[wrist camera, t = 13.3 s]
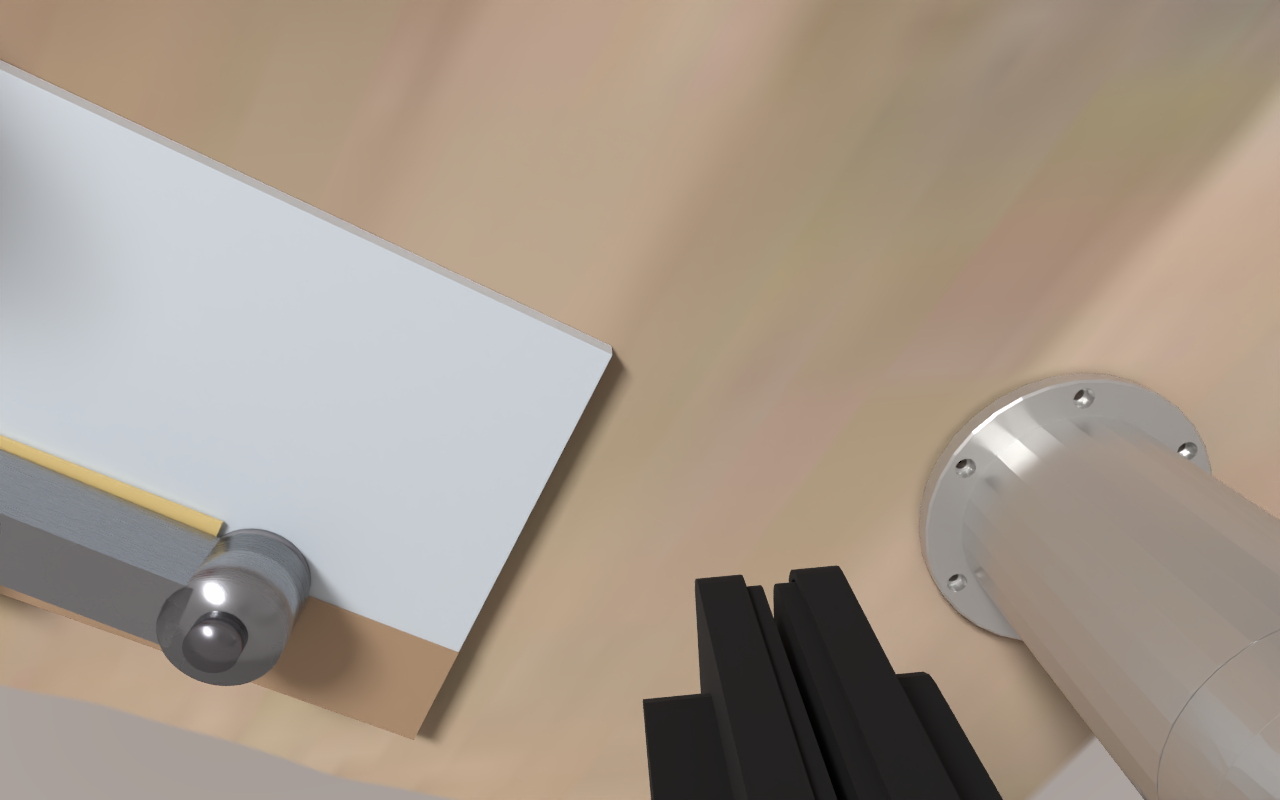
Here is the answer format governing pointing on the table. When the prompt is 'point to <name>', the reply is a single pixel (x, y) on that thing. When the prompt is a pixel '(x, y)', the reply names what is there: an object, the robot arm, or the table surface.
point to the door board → (275, 389)
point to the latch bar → (149, 574)
